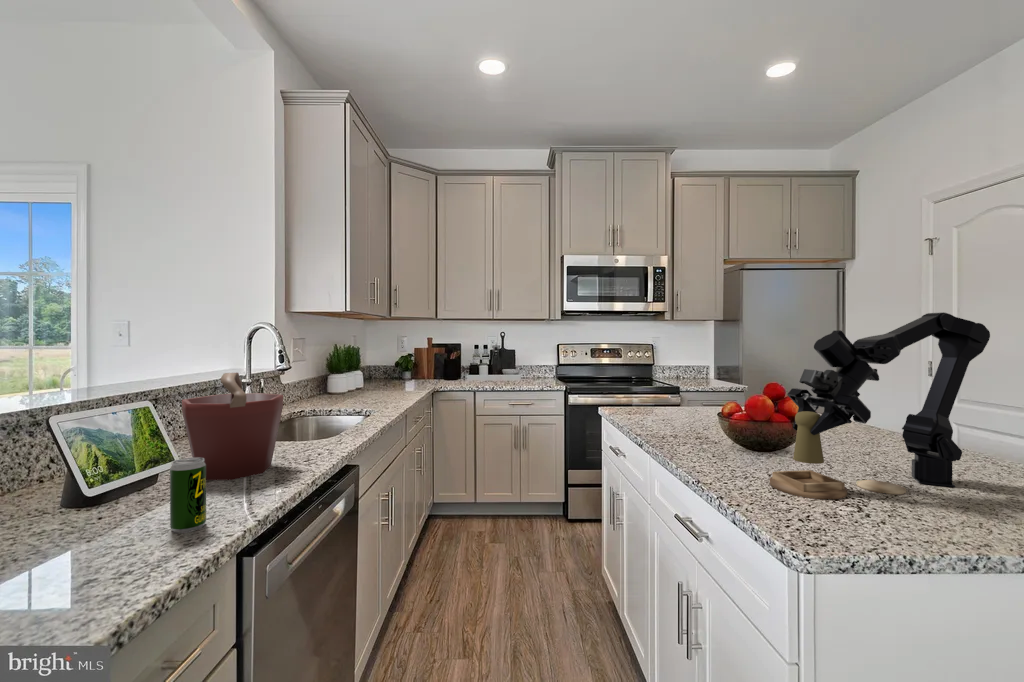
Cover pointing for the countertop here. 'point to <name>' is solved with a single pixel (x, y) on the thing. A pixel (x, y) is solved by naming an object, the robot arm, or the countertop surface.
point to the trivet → (808, 484)
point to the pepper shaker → (807, 439)
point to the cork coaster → (881, 487)
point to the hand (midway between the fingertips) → (802, 431)
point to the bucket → (233, 430)
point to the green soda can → (187, 494)
